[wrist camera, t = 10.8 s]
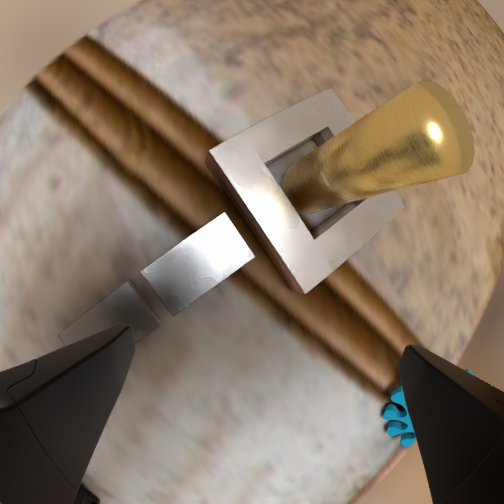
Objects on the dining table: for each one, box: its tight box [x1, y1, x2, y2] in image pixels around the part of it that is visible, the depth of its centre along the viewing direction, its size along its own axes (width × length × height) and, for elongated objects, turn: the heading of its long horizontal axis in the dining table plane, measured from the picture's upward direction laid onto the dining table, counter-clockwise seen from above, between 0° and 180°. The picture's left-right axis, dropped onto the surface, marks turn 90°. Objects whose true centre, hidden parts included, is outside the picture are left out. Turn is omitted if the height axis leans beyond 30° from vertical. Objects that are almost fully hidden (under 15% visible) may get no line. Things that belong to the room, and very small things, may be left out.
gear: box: [383, 369, 473, 447], centre depth 21 cm, size 11×6×10 cm
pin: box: [282, 80, 474, 213], centre depth 14 cm, size 4×4×12 cm
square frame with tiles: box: [58, 89, 405, 346], centre depth 19 cm, size 38×10×2 cm, turn 125°
